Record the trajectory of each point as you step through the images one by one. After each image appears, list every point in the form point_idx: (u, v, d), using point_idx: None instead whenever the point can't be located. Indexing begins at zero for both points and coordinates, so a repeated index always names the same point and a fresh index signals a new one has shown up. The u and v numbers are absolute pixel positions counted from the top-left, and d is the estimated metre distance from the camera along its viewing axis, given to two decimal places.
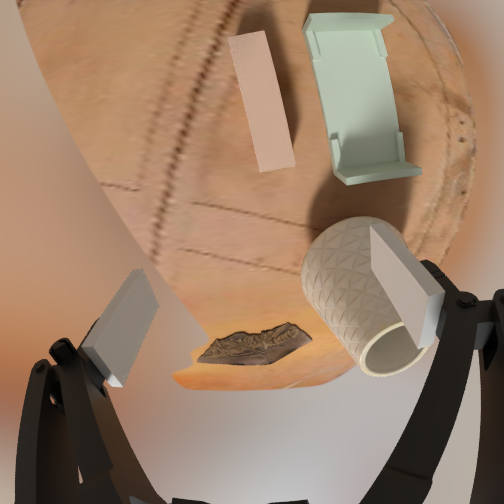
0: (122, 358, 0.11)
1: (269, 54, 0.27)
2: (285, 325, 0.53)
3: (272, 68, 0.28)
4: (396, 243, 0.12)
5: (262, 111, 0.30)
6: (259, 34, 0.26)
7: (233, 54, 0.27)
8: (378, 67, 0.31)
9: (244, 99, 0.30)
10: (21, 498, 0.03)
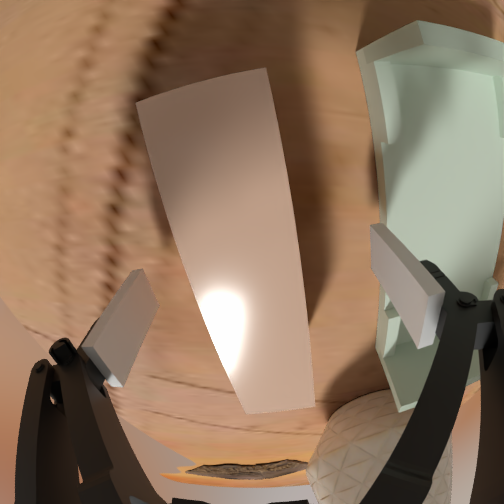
0: (122, 358, 0.11)
1: (281, 167, 0.09)
2: (283, 461, 0.36)
3: (288, 220, 0.10)
4: (396, 243, 0.12)
5: (252, 334, 0.12)
6: (247, 83, 0.08)
7: (158, 167, 0.09)
8: (495, 159, 0.13)
9: (203, 307, 0.12)
10: (21, 498, 0.03)
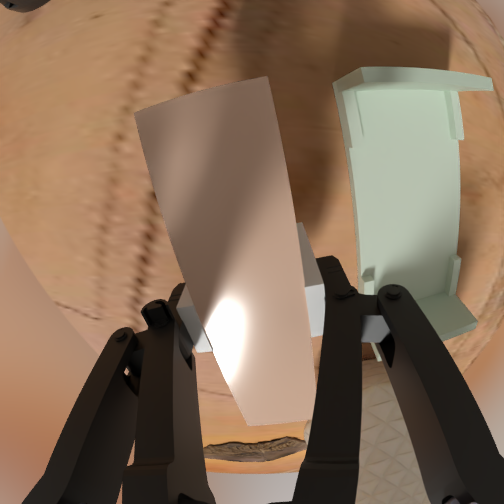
0: None
1: (284, 180, 0.09)
2: (283, 439, 0.41)
3: (291, 234, 0.10)
4: (303, 240, 0.14)
5: (254, 348, 0.12)
6: (249, 93, 0.08)
7: (157, 179, 0.09)
8: (447, 156, 0.20)
9: (204, 322, 0.12)
10: (52, 472, 0.05)
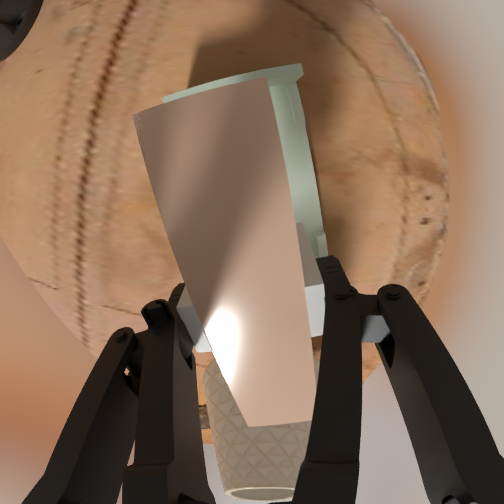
0: None
1: (283, 181, 0.09)
2: None
3: (291, 236, 0.10)
4: (303, 240, 0.14)
5: (254, 350, 0.12)
6: (248, 94, 0.08)
7: (156, 181, 0.09)
8: (292, 142, 0.27)
9: (204, 323, 0.12)
10: (52, 473, 0.05)
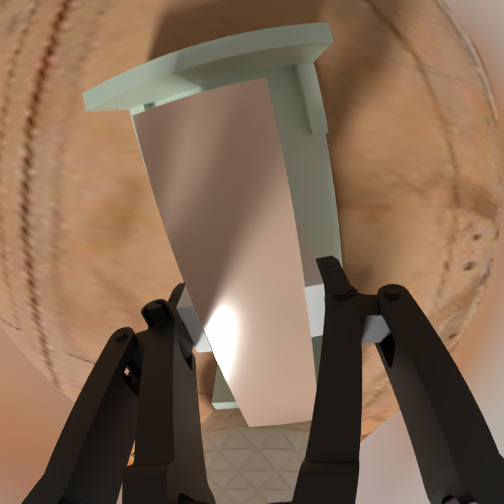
0: None
1: (283, 182, 0.09)
2: None
3: (291, 236, 0.10)
4: (303, 240, 0.14)
5: (255, 350, 0.12)
6: (247, 95, 0.08)
7: (156, 182, 0.09)
8: (305, 160, 0.17)
9: (205, 324, 0.12)
10: (52, 472, 0.05)
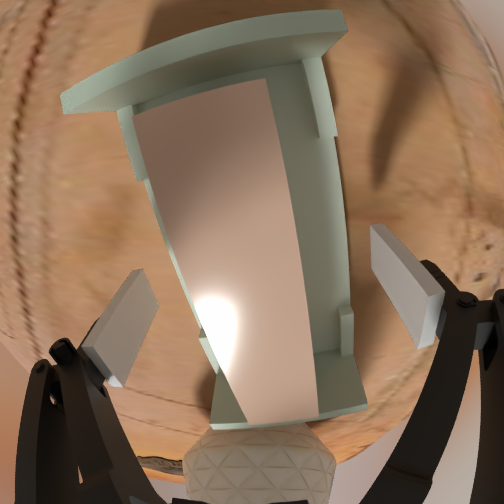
0: (122, 358, 0.11)
1: (283, 182, 0.09)
2: None
3: (290, 236, 0.10)
4: (396, 243, 0.12)
5: (255, 349, 0.12)
6: (246, 95, 0.08)
7: (156, 182, 0.09)
8: (311, 166, 0.15)
9: (205, 323, 0.12)
10: (21, 498, 0.03)
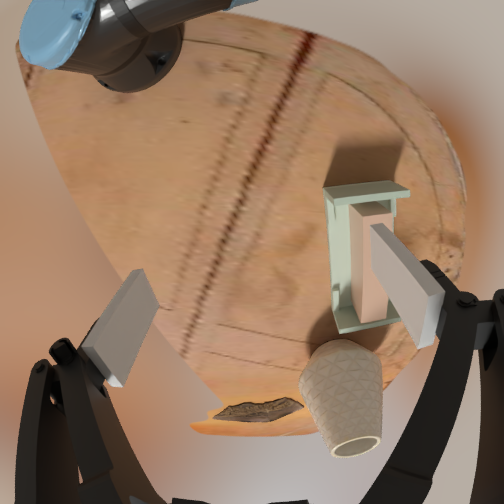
0: (122, 358, 0.11)
1: None
2: (283, 399, 0.63)
3: None
4: (396, 243, 0.12)
5: (374, 282, 0.39)
6: (388, 216, 0.34)
7: (364, 234, 0.36)
8: None
9: (364, 273, 0.38)
10: (21, 498, 0.03)
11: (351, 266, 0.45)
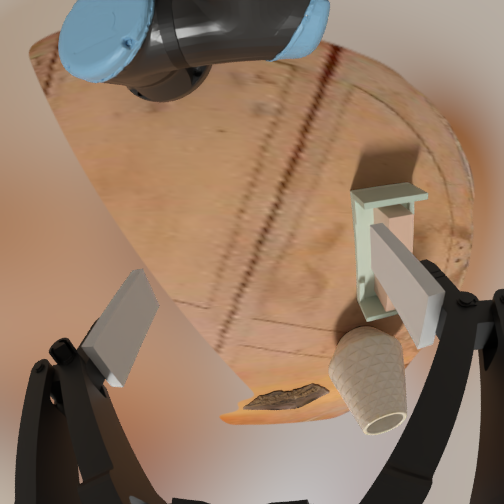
0: (122, 358, 0.11)
1: (412, 234, 0.39)
2: (310, 385, 0.68)
3: (411, 245, 0.40)
4: (396, 243, 0.12)
5: None
6: (410, 217, 0.38)
7: None
8: None
9: None
10: (21, 498, 0.03)
11: None
